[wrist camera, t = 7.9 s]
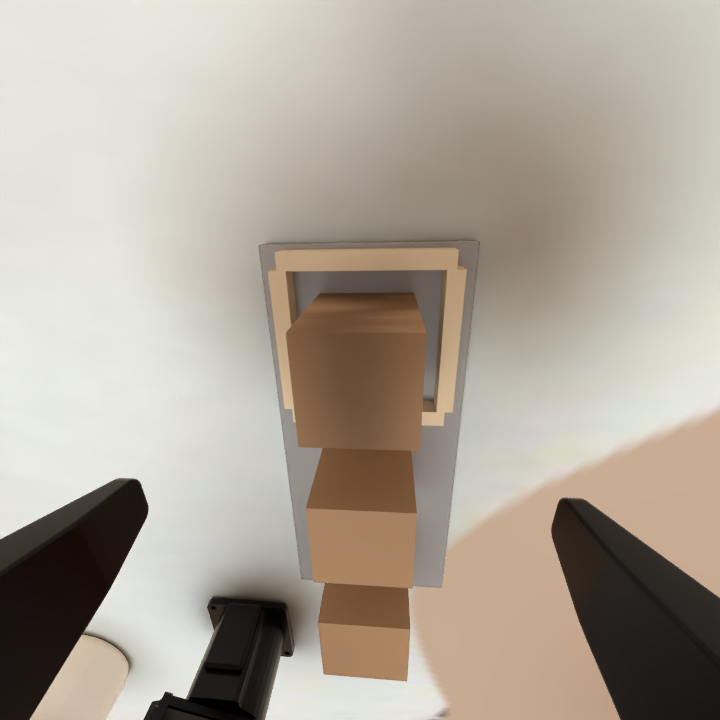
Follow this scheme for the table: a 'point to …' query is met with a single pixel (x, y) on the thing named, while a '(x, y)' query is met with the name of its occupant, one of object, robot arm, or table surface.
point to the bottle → (85, 683)
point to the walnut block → (358, 371)
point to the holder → (374, 467)
